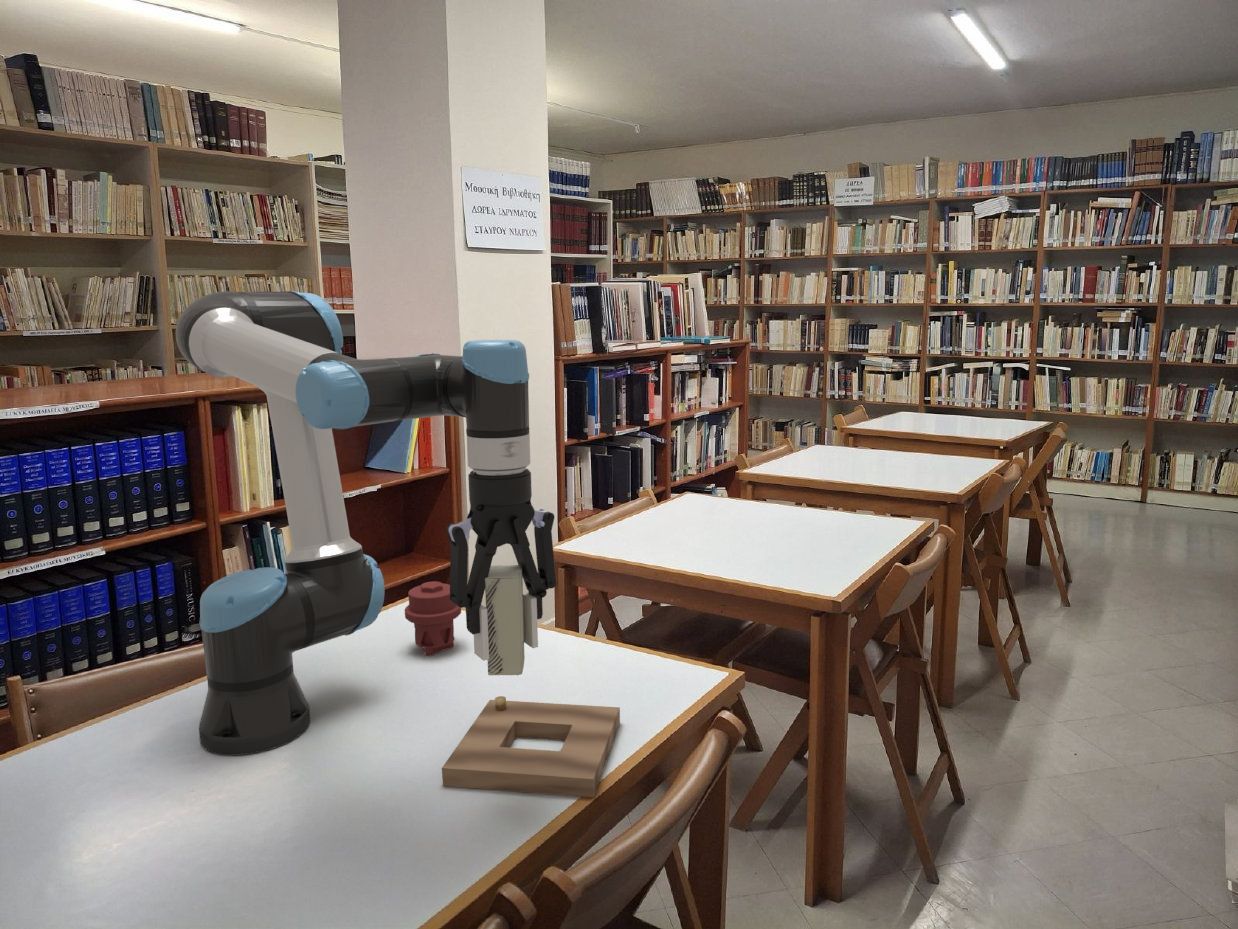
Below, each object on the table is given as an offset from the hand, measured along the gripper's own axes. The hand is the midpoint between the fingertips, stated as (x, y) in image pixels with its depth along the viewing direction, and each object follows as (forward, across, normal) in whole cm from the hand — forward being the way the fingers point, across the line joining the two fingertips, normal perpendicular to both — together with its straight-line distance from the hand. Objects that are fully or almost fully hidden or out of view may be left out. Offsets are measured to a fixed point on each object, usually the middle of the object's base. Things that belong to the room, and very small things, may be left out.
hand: (506, 650), depth 107 cm
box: (+3, 0, 0) cm, 3 cm away
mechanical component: (+19, +9, +50) cm, 54 cm away
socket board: (+19, +7, +6) cm, 21 cm away
